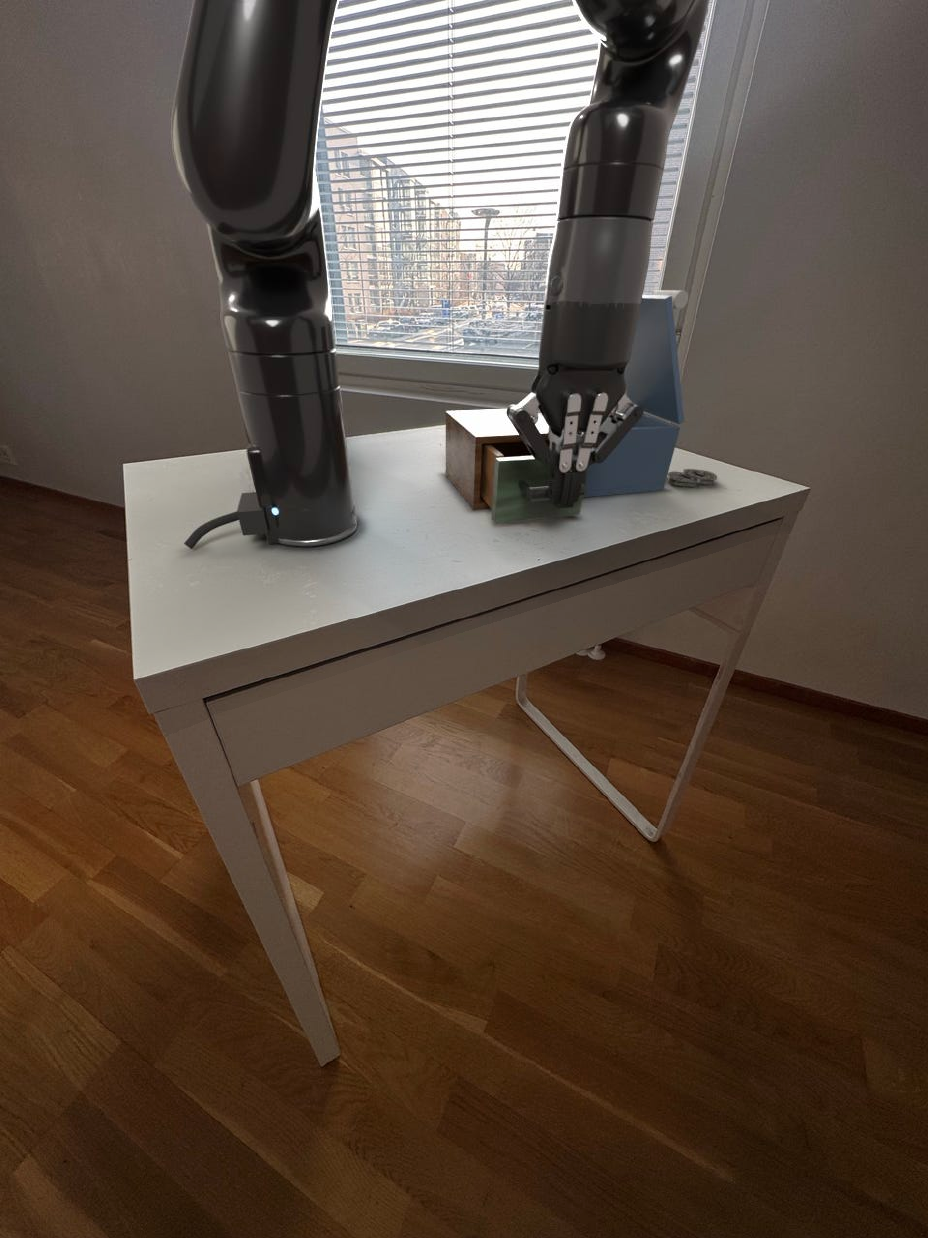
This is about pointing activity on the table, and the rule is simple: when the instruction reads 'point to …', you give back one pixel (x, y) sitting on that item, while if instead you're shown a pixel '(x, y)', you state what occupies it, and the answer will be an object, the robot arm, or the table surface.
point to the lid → (656, 357)
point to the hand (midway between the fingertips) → (561, 505)
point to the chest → (635, 460)
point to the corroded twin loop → (691, 477)
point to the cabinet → (476, 447)
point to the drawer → (518, 484)
